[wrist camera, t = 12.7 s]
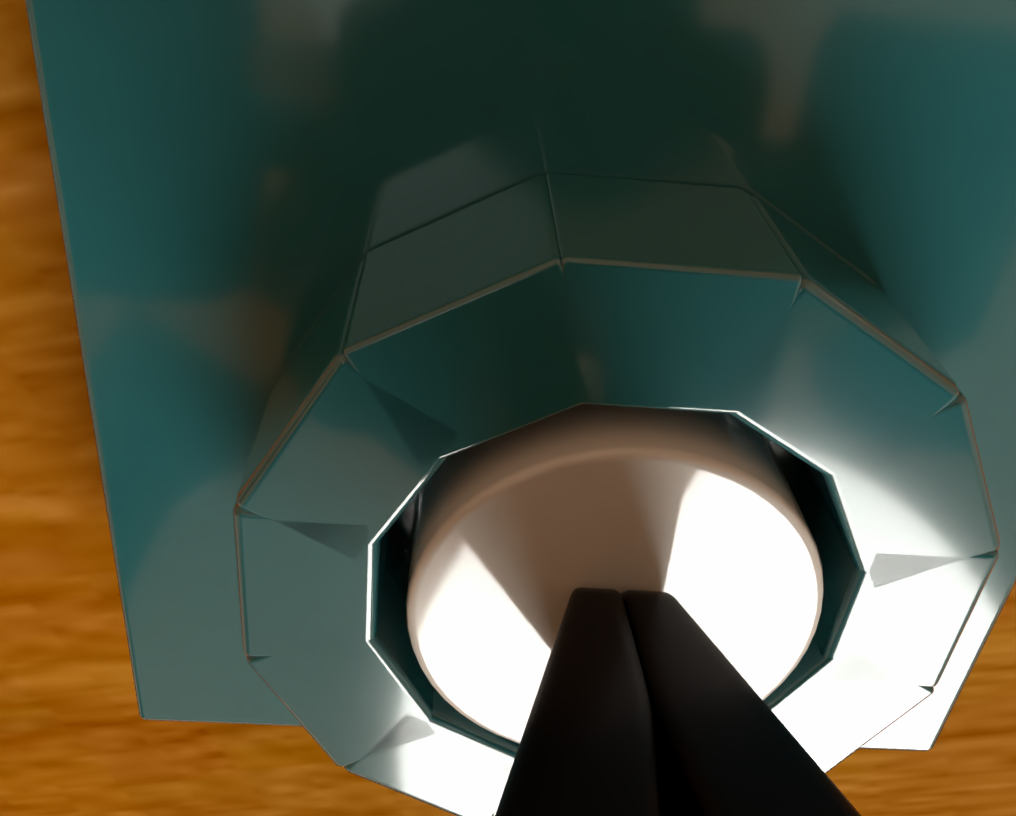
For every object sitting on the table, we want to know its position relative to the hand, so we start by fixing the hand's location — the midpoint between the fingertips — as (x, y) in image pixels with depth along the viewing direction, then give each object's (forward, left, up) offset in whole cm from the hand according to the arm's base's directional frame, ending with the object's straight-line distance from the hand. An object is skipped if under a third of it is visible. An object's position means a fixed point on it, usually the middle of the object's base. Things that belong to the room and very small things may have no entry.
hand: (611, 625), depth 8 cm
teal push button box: (+2, 0, -4) cm, 5 cm away
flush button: (0, 0, -2) cm, 2 cm away
